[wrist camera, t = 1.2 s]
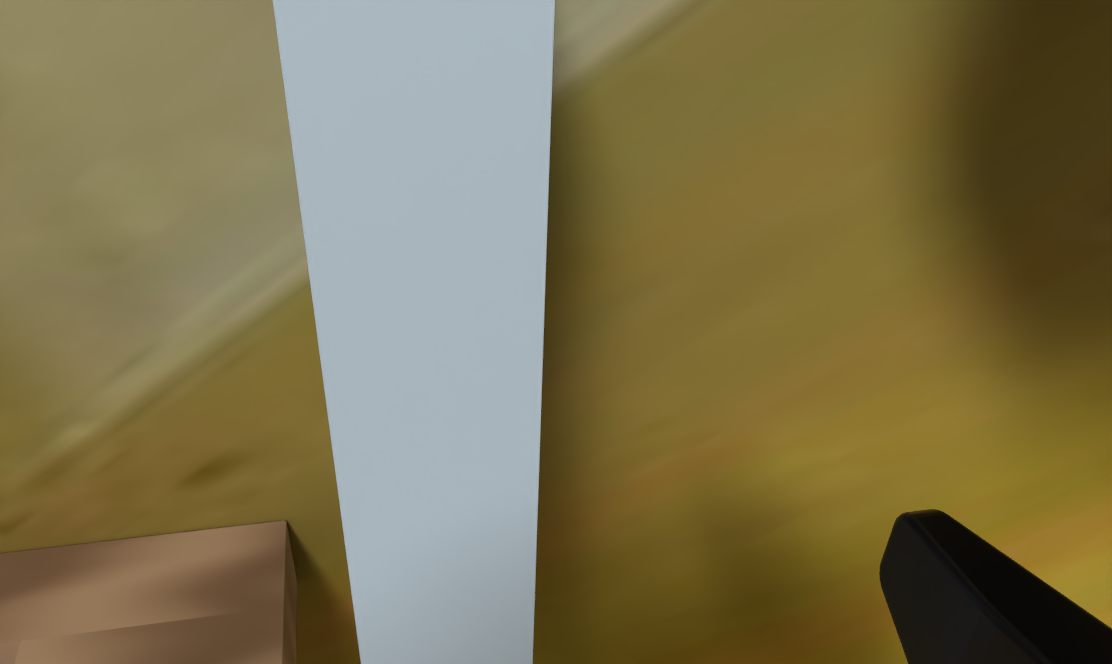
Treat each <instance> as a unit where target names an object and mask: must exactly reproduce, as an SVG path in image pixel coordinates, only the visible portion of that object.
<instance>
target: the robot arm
mask: <svg viewBox="0 0 1112 664" xmlns="http://www.w3.org/2000/svg"><path fill="white" fill-rule="evenodd" d="M880 582H881V587H882V590H883V593H884V596H885V599H886V602H887V604H888V607H889V610H890V613H891V616H892V619H893V622H894V624H895V627H896V630H897V633H898V636H899V639H900V641H901V644H902V647H903V650H904V653H905V656H906V658H907V661H908V664H1112V629H1111V628H1110V627H1109V626H1107V625H1106V624H1104V623H1103V622H1101V621H1100V620H1098V619H1097V618H1096V617H1094V616H1093V615H1091V614H1090V613H1088V612H1087V611H1086V610H1084V609H1083V608H1081V607H1080V606H1078V605H1077V604H1076V603H1074V602H1073V601H1071V600H1070V599H1068V598H1067V597H1065V596H1064V595H1063V594H1061V593H1060V592H1058V591H1057V590H1055V589H1054V588H1053V587H1051V586H1050V585H1048V584H1047V583H1045V582H1044V581H1042V580H1041V579H1040V578H1038V577H1037V576H1035V575H1034V574H1032V573H1031V572H1030V571H1028V570H1027V569H1025V568H1024V567H1022V566H1021V565H1019V564H1018V563H1017V562H1015V561H1014V560H1012V559H1011V558H1009V557H1008V556H1007V555H1005V554H1004V553H1002V552H1001V551H999V550H998V549H996V548H995V547H994V546H992V545H991V544H989V543H988V542H986V541H985V540H984V539H982V538H981V537H979V536H978V535H976V534H975V533H973V532H972V531H971V530H969V529H968V528H966V527H965V526H963V525H962V524H961V523H959V522H958V521H956V520H955V519H953V518H952V517H951V516H949V515H948V514H946V513H944V512H942V511H940V510H935V509H929V510H921V511H913V512H905V513H902V514H901V515H900V516H899V517H898V518H897V519H896V521H895V523H894V526H893V529H892V532H891V534H890V537H889V540H888V543H887V546H886V549H885V552H884V555H883V558H882V561H881V564H880Z"/></svg>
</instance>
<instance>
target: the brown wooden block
mask: <svg viewBox="0 0 1112 664" xmlns="http://www.w3.org/2000/svg"><path fill="white" fill-rule="evenodd" d="M296 638H297V578H296V572H295V567H294V561H293V556H292V550H291V545H290V539H289V534H288V528H287V522H286V520H285V521H276V522H267V523H259V524H250V525H242V526H233V527H224V528H216V529H207V530H199V531H190V532H181V533H173V534H164V535H156V536H147V537H138V538H130V539H121V540H113V541H104V542H95V543H87V544H78V545H70V546H61V547H52V548H44V549H35V550H26V551H18V552H9V553H1V554H0V664H296Z"/></svg>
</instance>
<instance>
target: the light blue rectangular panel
mask: <svg viewBox="0 0 1112 664" xmlns="http://www.w3.org/2000/svg"><path fill="white" fill-rule="evenodd" d="M273 5H274V13H275V20H276V28H277V36H278V43H279V51H280V58H281V66H282V73H283V81H284V88H285V96H286V103H287V111H288V118H289V126H290V133H291V141H292V148H293V156H294V163H295V171H296V178H297V186H298V194H299V201H300V209H301V216H302V224H303V231H304V239H305V246H306V254H307V261H308V269H309V276H310V284H311V291H312V299H313V306H314V314H315V321H316V329H317V336H318V344H319V352H320V359H321V367H322V374H323V382H324V389H325V397H326V404H327V412H328V419H329V427H330V434H331V442H332V449H333V457H334V464H335V472H336V479H337V487H338V495H339V502H340V510H341V517H342V525H343V532H344V540H345V547H346V555H347V562H348V570H349V577H350V585H351V592H352V600H353V607H354V615H355V622H356V630H357V637H358V645H359V653H360V660H361V664H533V635H534V606H535V576H536V546H537V516H538V486H539V456H540V427H541V397H542V367H543V337H544V307H545V278H546V248H547V218H548V188H549V158H550V129H551V99H552V69H553V39H554V9H555V0H273Z"/></svg>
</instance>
